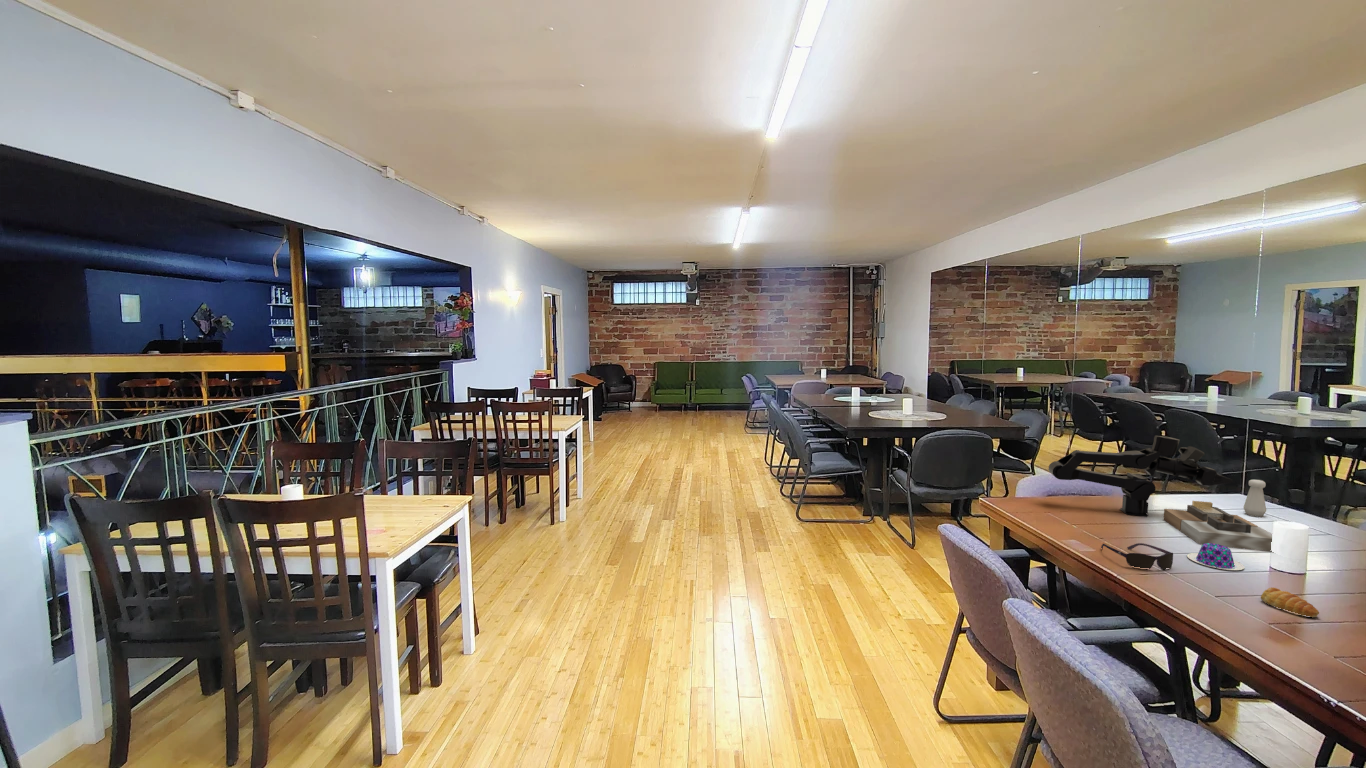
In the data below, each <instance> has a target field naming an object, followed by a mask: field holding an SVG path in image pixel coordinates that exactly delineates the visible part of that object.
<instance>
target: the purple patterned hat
mask: <svg viewBox="0 0 1366 768" xmlns="http://www.w3.org/2000/svg"><path fill="white" fill-rule="evenodd" d="M1187 558H1188V559H1190V561H1193V562H1195V563H1197V564H1200V565H1204V566H1206V567H1211V568H1216V567H1218V568H1216V569H1220V570H1224V569H1225V571H1226V570H1227V571H1241V570H1244V569H1245V565H1244V564H1242V563H1240V561H1239V562H1238V561H1237V560H1235V559H1234V558H1233V552H1232V550H1231V549H1230V547H1225V546H1222V545H1219V544H1212V543H1204V544H1201V546H1200V548H1199V551H1198V552H1191V553H1188V554H1187ZM1203 563H1204V564H1203ZM1205 564H1206V565H1205ZM1234 564H1235V565H1236V566H1237V568H1235V565H1234ZM1214 566H1215V567H1214ZM1230 568H1231V569H1230ZM1233 568H1235V569H1233Z"/></svg>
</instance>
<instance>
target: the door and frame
mask: <svg viewBox="0 0 1366 768" xmlns="http://www.w3.org/2000/svg"><path fill="white" fill-rule="evenodd" d="M1212 508H1214V509H1216V510H1217V511H1219V512H1221V513H1223V520H1222V519H1216V518H1214V517H1211V516H1208V518H1207V514H1206V513H1205V512H1203V511H1201V510H1199V509H1198V508H1196V507H1194V506H1192V504H1187V508H1186V510H1183V509H1182V510H1181V509H1170V508H1164V511H1163V521H1165V522H1167V523H1168V524H1169V525H1171V526H1172V527H1173V528H1175V529H1176V530H1178V531H1180V532H1181V533H1183V534H1184V535H1185V536H1187V537H1189V538H1190V539H1191V540H1192V541H1194V542H1196V543H1197V544H1199V545H1203V544H1204V543H1212V544H1219V545H1222V546H1225V547H1227V548H1233V547H1234V548H1233V549H1235V548H1237V549H1243V548H1245V550H1246V549H1247V550H1252V551H1253V550H1256V551H1261V552H1262V551H1265V552H1271V551H1270V550H1271V542H1272V534H1273V533H1272V532H1270V531H1268V530H1267V529H1265V528H1262V527H1261V526H1258V525H1257V524H1255V523H1253V522H1250V521H1249V520H1247V519H1245V518H1244V517H1242V516H1239V515H1238V514H1230V513H1228V512H1226V511H1225V510H1224V509H1223V510H1222V509H1221V508H1219V507H1217V506H1212Z"/></svg>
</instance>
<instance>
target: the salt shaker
mask: <svg viewBox="0 0 1366 768" xmlns="http://www.w3.org/2000/svg"><path fill="white" fill-rule="evenodd" d="M1266 485H1267V484H1266V482H1265V481H1264V480H1262V479H1250V480H1248V486H1249V489H1248V492H1247V496H1246V498H1245V502H1244V503H1243V510H1244V513H1245V514H1246V515H1248V516H1250V515H1251V516H1252V517H1257V518H1261V517H1264V515H1265V514H1266V513H1267V507H1266V501H1265V499H1266V498H1265V494H1264V490H1263V489H1264V488H1266ZM1251 516H1250V517H1251Z"/></svg>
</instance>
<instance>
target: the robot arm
mask: <svg viewBox="0 0 1366 768" xmlns="http://www.w3.org/2000/svg"><path fill="white" fill-rule="evenodd" d="M1180 440H1181V439H1178V438H1175V437H1169V436H1165V435H1163V436H1162V435H1154V437H1153V444H1152V447H1151V448H1150V447H1147V448H1145V449H1141V450H1125V451H1119V452H1105V451H1103V452H1102V451H1090V450H1089V451H1088V450H1087V451H1086V450H1078V449H1076V450H1073V451H1072V452H1070V453H1069V454H1067V455H1065V456H1063V457H1061V458H1059V459H1058V460H1055V461H1052V462H1051V463H1050V464H1049V465H1048V472H1049V473H1050V474H1051V475H1052V476H1053V477H1054V478H1055V479H1058V480H1061V481H1073V480H1075V481H1076V480H1078V481H1079V480H1080V481H1085V482H1090V483H1095V484H1102V485H1107V486H1112V487H1117V488H1120V489H1121V492H1122V493H1123V495H1122V503H1121V504H1122V505H1121V507H1120V508H1119V511H1121V512H1123V513H1124V514H1125V515H1129V516H1141V517H1149V514H1148V513H1149V511H1148V510H1149V502H1148V500H1149V498H1150V497H1151V496H1152V495H1153V494H1154V493H1155V492H1156V485H1155V483H1154V482H1153V481H1150V480H1148V478H1147V477H1145V476H1143V475H1142V474H1139V473H1138V474H1134V473H1131V472H1126V475H1123V476H1121V475H1117V474H1112V473H1111V474H1110V473H1104V472H1099V471H1093V470H1088V469H1082V468H1079V466H1080V465H1082V464H1083V463H1096V464H1110V465H1111V464H1112V465H1120V466H1125V467H1130V468H1133V469H1138V470H1144V471H1145V472H1146V474H1147V475H1149V476H1151V477H1154V476H1155V472H1157V473H1162V474H1166V475H1171V476H1173V477H1176V478H1179V477H1181V478H1184V479H1187V480H1190V481H1193V480H1194V478H1195V482H1196V483H1197V484H1199V485H1201V486H1203V487H1207V488H1211V487H1212V486H1217V485H1225V484H1232V483H1233V481H1234V480H1233V479H1232V478H1229V477H1226V476H1223V475H1220V474H1218V472H1217V470H1216V469H1213V468H1212V467H1209V466H1208V467H1207V466H1200V465H1199V464H1198V462H1199V460H1201V458H1202V457H1204V456H1205V452H1204V451H1202V450H1200V449H1199V448H1196V447H1194V446H1192V445H1190V446H1187V447H1184V446H1183V447H1181V446H1180V448H1179V449H1178V446H1179V443H1180ZM1177 451H1178V452H1179V453H1180V457H1174V456H1175V455H1176V454H1177ZM1169 457H1170V458H1169ZM1171 457H1174V458H1171Z"/></svg>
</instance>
